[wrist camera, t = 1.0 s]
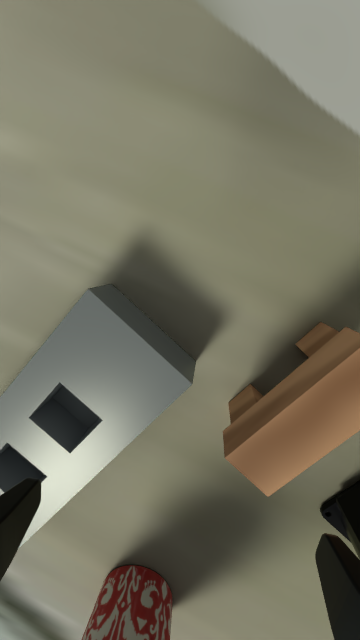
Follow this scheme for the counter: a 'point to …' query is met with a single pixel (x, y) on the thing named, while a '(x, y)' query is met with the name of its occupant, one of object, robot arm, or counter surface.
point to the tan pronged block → (298, 412)
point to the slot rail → (86, 397)
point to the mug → (131, 607)
